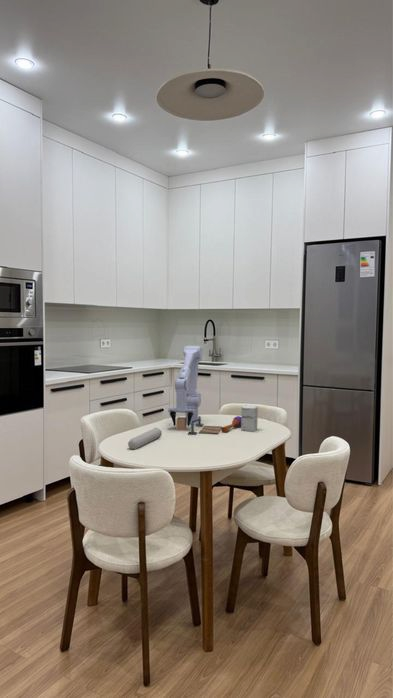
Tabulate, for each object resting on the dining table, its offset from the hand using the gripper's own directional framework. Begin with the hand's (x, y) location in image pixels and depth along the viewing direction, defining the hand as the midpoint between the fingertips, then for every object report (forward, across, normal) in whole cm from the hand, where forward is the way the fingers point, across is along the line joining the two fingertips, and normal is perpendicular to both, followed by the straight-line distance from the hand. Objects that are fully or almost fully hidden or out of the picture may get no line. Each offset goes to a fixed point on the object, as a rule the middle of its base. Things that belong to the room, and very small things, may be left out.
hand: (181, 425), depth 255 cm
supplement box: (+2, +36, +6) cm, 37 cm away
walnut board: (+2, +16, 0) cm, 16 cm away
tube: (+2, -11, -33) cm, 34 cm away
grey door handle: (+2, +8, 0) cm, 8 cm away
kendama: (+2, +27, +6) cm, 28 cm away
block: (+2, 0, 0) cm, 2 cm away
